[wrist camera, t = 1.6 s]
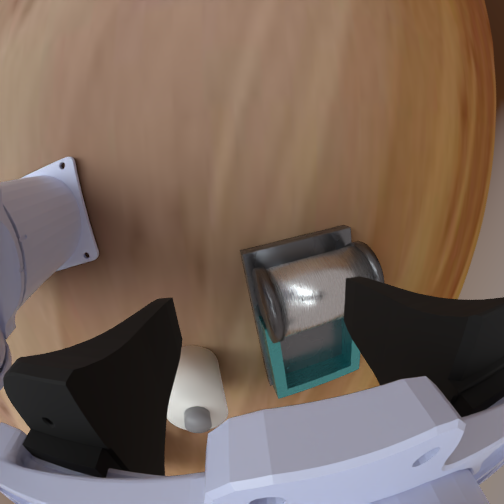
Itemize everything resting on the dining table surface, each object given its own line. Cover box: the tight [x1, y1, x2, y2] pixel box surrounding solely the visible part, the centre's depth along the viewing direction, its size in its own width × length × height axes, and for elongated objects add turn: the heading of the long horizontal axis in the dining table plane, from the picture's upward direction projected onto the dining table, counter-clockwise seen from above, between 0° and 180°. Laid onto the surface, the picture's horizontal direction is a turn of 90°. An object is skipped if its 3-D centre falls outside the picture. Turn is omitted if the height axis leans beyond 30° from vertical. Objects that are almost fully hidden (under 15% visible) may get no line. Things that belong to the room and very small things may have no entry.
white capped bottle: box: [167, 345, 228, 433], centre depth 20 cm, size 5×5×7 cm
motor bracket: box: [240, 225, 384, 399], centre depth 21 cm, size 10×14×6 cm
